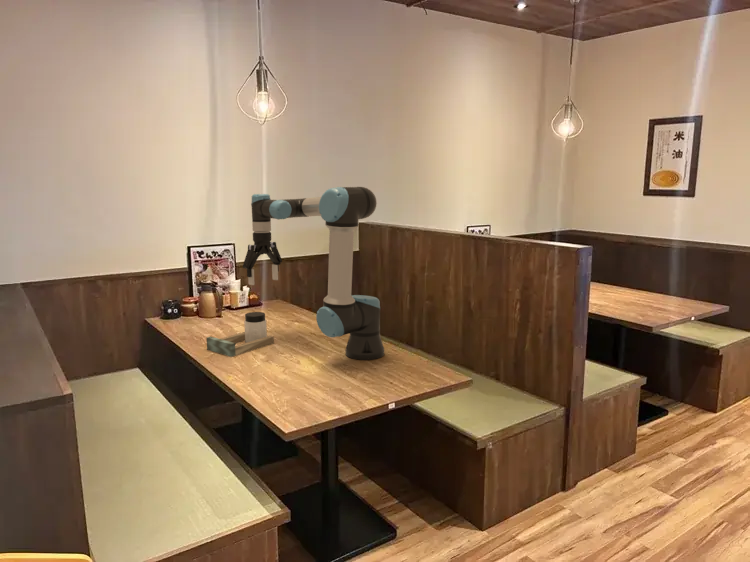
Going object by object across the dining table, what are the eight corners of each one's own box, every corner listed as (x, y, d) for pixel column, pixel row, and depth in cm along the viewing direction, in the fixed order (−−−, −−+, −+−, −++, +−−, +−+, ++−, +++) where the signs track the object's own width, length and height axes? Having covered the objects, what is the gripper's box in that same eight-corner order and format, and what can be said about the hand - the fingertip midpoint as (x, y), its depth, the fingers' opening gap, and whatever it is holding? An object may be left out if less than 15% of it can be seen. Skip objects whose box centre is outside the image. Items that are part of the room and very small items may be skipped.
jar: (244, 345, 236) (243, 316, 234) (246, 339, 244) (244, 312, 242) (266, 344, 237) (265, 316, 235) (267, 338, 245) (266, 311, 243)
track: (273, 343, 239) (273, 331, 238) (231, 356, 222) (230, 344, 221) (249, 337, 248) (249, 325, 247) (207, 349, 230) (206, 337, 230)
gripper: (276, 228, 251) (278, 276, 255) (232, 233, 231) (234, 285, 235) (289, 229, 246) (290, 278, 250) (245, 235, 226) (247, 288, 230)
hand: (263, 282), depth 242 cm, fingers open, 13 cm apart
